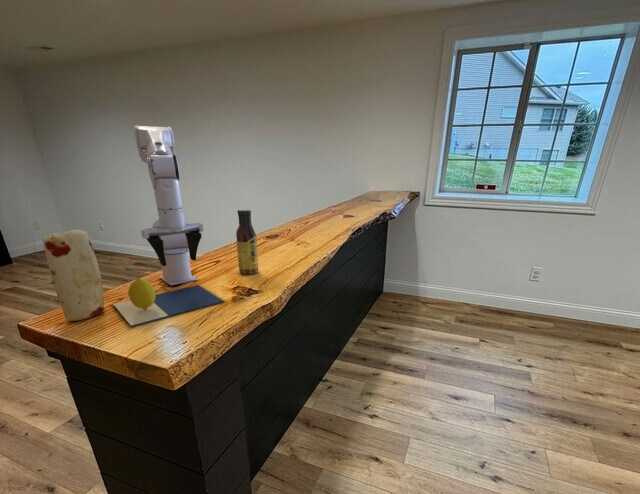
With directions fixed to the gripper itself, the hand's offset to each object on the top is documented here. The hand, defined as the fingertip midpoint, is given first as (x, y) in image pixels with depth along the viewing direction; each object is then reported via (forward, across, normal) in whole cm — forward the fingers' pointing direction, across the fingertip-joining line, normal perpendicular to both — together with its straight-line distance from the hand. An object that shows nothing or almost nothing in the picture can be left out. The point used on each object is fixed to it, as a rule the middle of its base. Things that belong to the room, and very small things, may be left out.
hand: (178, 262), depth 90 cm
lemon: (+9, -11, -4) cm, 15 cm away
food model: (+10, -22, +2) cm, 24 cm away
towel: (+9, -5, -3) cm, 11 cm away
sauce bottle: (+10, +24, +7) cm, 27 cm away
